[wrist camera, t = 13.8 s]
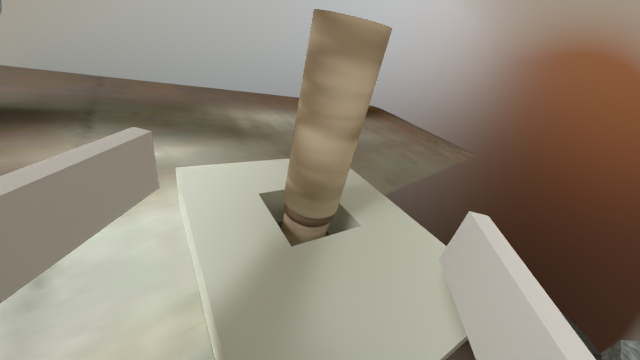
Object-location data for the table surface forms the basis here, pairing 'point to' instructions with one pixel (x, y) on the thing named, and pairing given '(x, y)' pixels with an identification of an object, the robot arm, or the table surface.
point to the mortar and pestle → (623, 351)
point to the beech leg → (329, 118)
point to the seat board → (313, 272)
